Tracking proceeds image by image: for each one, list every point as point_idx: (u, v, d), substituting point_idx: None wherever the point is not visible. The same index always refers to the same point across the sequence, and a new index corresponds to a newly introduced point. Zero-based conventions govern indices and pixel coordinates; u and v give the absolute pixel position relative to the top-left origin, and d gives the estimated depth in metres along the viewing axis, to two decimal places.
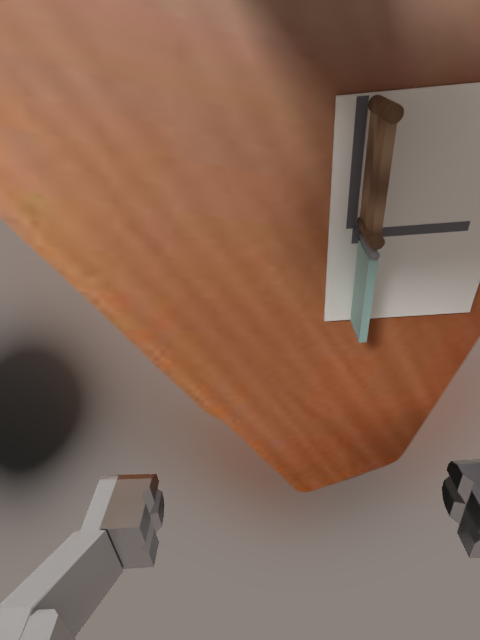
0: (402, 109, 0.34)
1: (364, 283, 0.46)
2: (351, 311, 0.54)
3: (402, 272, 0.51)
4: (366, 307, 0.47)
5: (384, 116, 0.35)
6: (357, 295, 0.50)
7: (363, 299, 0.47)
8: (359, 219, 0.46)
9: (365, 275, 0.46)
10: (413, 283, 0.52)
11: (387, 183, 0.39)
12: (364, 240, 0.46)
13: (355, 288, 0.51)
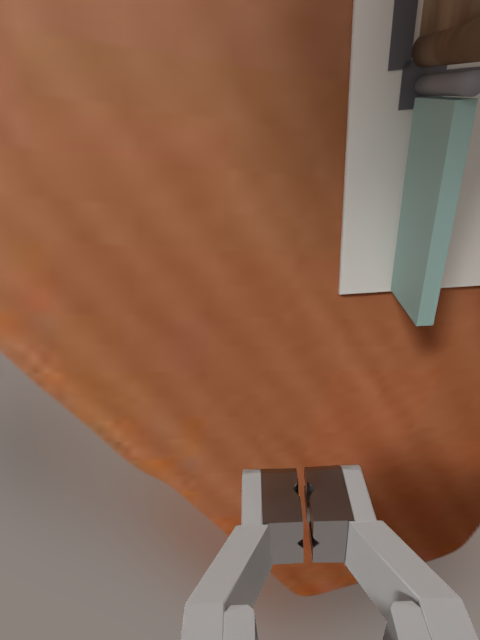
0: None
1: (436, 177, 0.20)
2: (393, 271, 0.27)
3: None
4: (439, 239, 0.21)
5: None
6: (411, 224, 0.24)
7: (432, 218, 0.21)
8: (419, 39, 0.21)
9: (440, 154, 0.19)
10: None
11: None
12: (434, 77, 0.20)
13: (405, 214, 0.24)
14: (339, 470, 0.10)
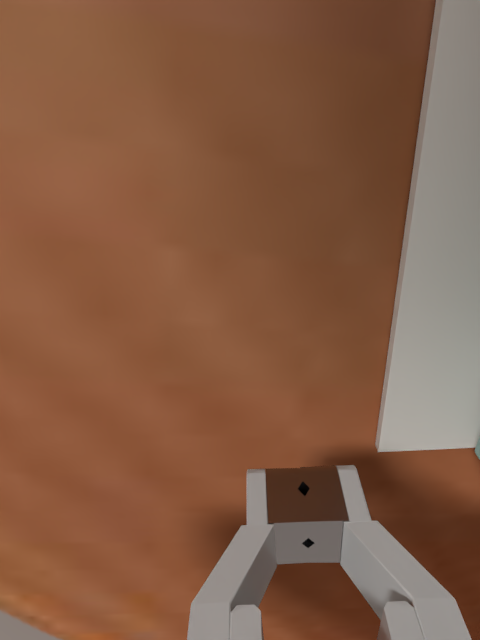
0: None
1: None
2: None
3: None
4: None
5: None
6: None
7: None
8: None
9: None
10: None
11: None
12: None
13: None
14: (335, 470, 0.10)
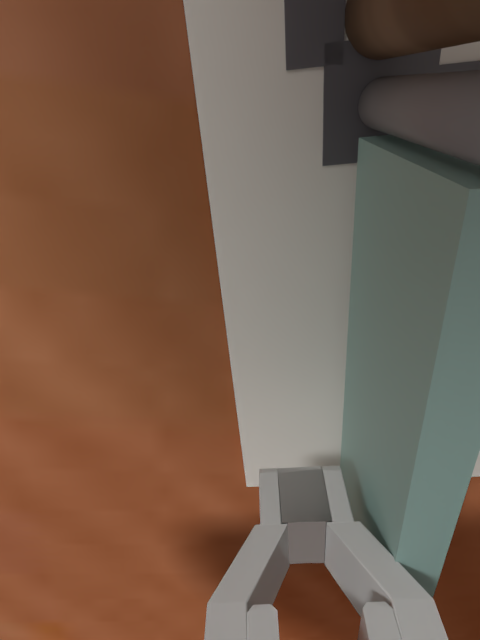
0: None
1: (409, 391, 0.07)
2: (341, 464, 0.14)
3: None
4: (422, 533, 0.08)
5: None
6: (363, 426, 0.10)
7: (403, 487, 0.07)
8: None
9: (419, 338, 0.06)
10: None
11: None
12: (400, 89, 0.06)
13: (352, 386, 0.11)
14: (320, 471, 0.10)
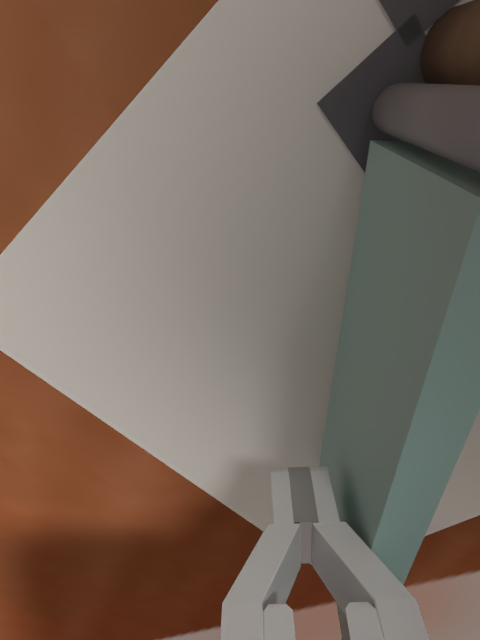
0: None
1: (401, 389, 0.07)
2: (321, 459, 0.14)
3: (324, 383, 0.13)
4: (399, 526, 0.08)
5: None
6: (348, 422, 0.10)
7: (385, 480, 0.08)
8: None
9: (416, 338, 0.06)
10: (309, 436, 0.15)
11: None
12: (418, 97, 0.07)
13: (341, 383, 0.11)
14: (307, 471, 0.10)
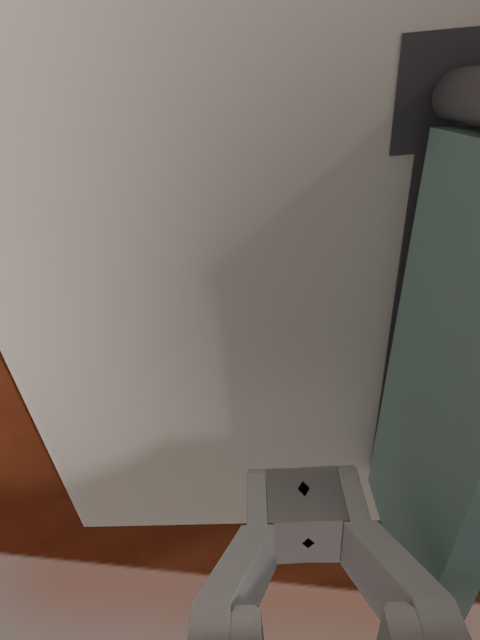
0: None
1: None
2: (374, 456, 0.14)
3: (217, 323, 0.12)
4: None
5: None
6: (412, 415, 0.10)
7: (471, 471, 0.07)
8: None
9: None
10: (166, 371, 0.13)
11: None
12: None
13: (399, 377, 0.11)
14: (334, 470, 0.10)
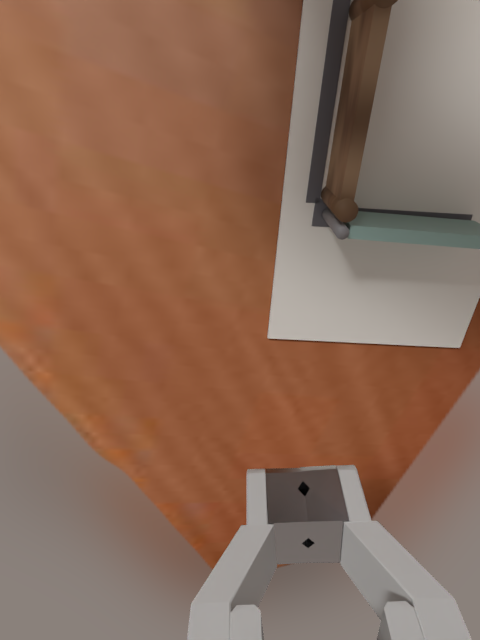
0: None
1: None
2: None
3: (376, 278, 0.37)
4: (434, 240, 0.30)
5: None
6: None
7: None
8: (324, 189, 0.33)
9: None
10: (390, 297, 0.38)
11: (368, 114, 0.25)
12: (328, 224, 0.32)
13: None
14: (334, 470, 0.10)
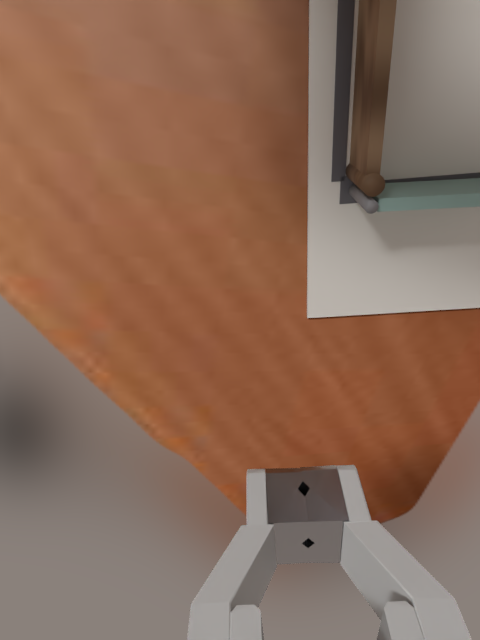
0: None
1: None
2: None
3: (410, 247, 0.37)
4: (465, 201, 0.30)
5: None
6: None
7: None
8: (349, 166, 0.33)
9: None
10: (425, 264, 0.38)
11: (386, 88, 0.26)
12: (356, 200, 0.33)
13: None
14: (334, 470, 0.10)
